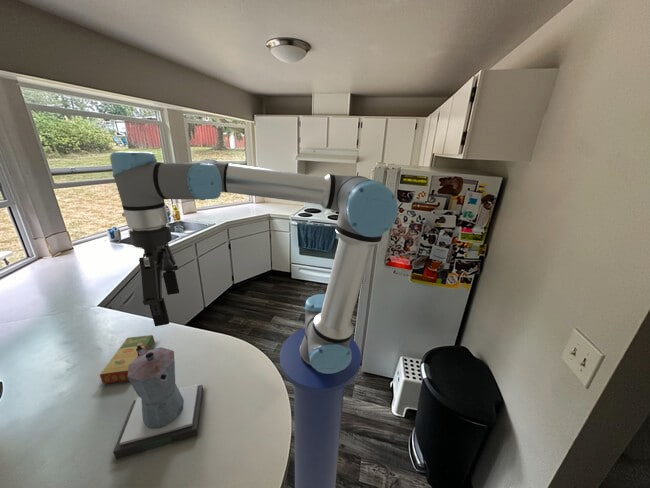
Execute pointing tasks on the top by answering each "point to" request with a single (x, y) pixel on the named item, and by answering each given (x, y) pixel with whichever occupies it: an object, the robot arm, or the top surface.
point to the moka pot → (156, 386)
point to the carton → (125, 359)
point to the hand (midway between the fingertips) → (168, 307)
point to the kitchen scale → (144, 438)
